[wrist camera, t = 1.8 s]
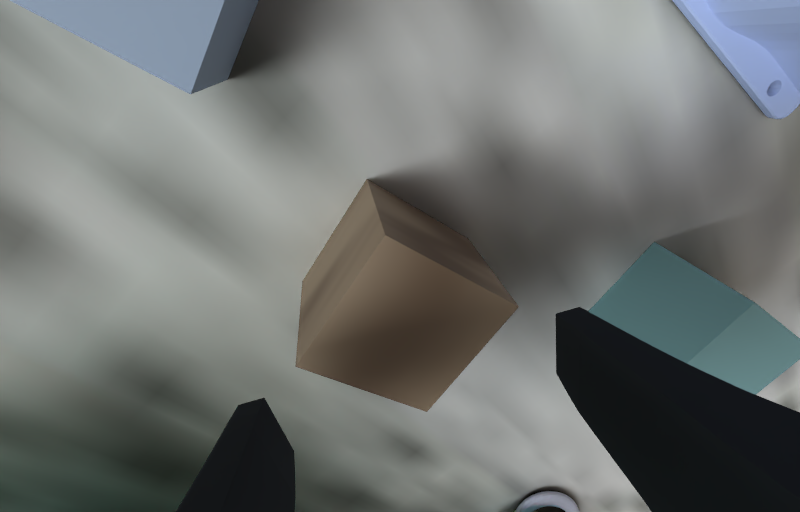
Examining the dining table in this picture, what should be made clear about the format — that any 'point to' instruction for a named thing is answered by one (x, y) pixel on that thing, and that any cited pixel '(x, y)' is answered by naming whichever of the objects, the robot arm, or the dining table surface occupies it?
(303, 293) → the walnut block
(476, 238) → the dining table surface
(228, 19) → the slate base block
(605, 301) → the green block
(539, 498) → the pacifier
